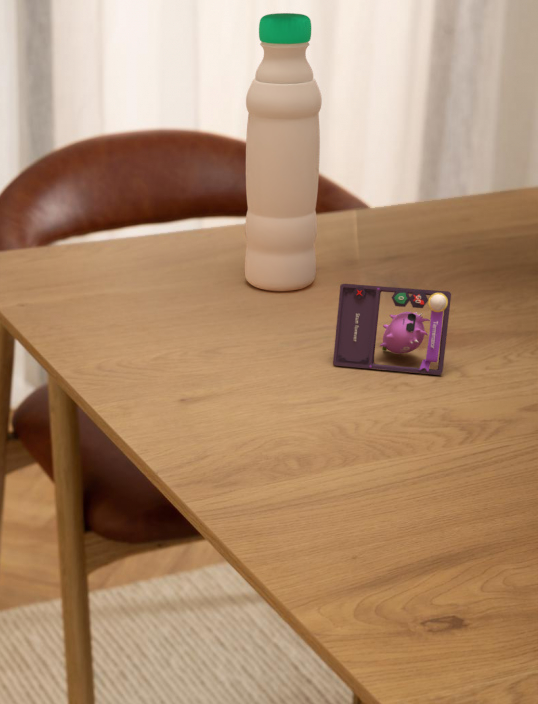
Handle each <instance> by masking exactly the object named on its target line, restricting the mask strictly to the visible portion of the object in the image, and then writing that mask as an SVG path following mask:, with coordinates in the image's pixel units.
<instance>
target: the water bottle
mask: <svg viewBox="0 0 538 704" xmlns="http://www.w3.org/2000/svg"><path fill="white" fill-rule="evenodd" d="M311 38H312V20H311V18H310V17H309V16H308V15H306V14H302V13H293V12H292V13H290V12H279V13H278V12H277V13H268V14H265V15H263V16H262V17H261V18H260V19H259V24H258V39H259V41H260V44H259V45H260V46H261V48H262V50H263V57H262V60H261V62H260V63H259V64H258V66H257V69H256V71H255V76H254V77H255V78H253V79H252V81H251V84H250V86H249V88H248V90H247V93H246V96H245V106H246V111H247V113H248V115H247V123H246V139H245V192H246V206H247V211H246V215H245V228H244V229H245V230H244V231H245V240H246V249H245V255H244V256H245V257H244V277H245V280H246V281H247V282H248V284H250V285H251V286H253V287H255V288H257V289H260V290H265V291H269V292H271V291H272V292H290V291H292V292H293V291H296V290H300V289H304V288H306V287H308V286H310V285H311V284H312V283H313V282H315V278H316V275H317V272H316V271H317V254H316V240H317V234H318V218H317V211H316V208H317V200H318V191H319V178H320V153H321V152H320V151H321V150H320V149H321V145H320V144H321V138H320V136H321V135H320V133H321V131H320V111H321V109H322V99H323V98H322V94H321V90H320V87H319V85H318V83H317V80H316V79H315V78H314V71H313V69H312V67H311V65H310V63H309V62H308V59H307V55H306V52H307V49H308V47H309V46H310V41H311Z"/></svg>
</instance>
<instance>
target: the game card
mask: <svg viewBox="0 0 538 704" xmlns="http://www.w3.org/2000/svg"><path fill="white" fill-rule="evenodd" d="M381 293H393V295H391V300H392V303H393V304H394V306H395V307H399V308H406V306H407V305H408V304H409V302H410V304H411V307H412V309H414V308H415V309H424V307H425V306H426V305H427V303H428V305H427V306H428V307H429V309H430V310H431V311H430V319H429V318H425V317H424V316H422V315H424V313H423V312H422V313H419V314H418V311H416V312H412V311H402V312H399V313H398V314H389V317H390V318H391V319H392V320H391V322H390V323H389V324H383V325H382V327H383V328H384V329H385V330H384V333H383V335H382V343H380V344H379V347H381V350H382V351H384V352H387V351H388V352H390V353H393V354H397V355H402V354H408V353H411V352H413V351H415V350H416V349H417V348H419V347H420V346H421V344H423V341H424V338H425V336H428V340H427V341H428V342H427V349H426V355H425V359H422V361H421V363H420V366H419V367H414V366H413V367H412V366H400V365H391V364H390V365H389V364H379V363H374V361H375V354H376V351H375V350H376V345H377V344H376V343H377V342H376V341H377V332H378V322H379V313H380V305H381V304H380V302H381ZM409 294H410V295H409ZM427 296H430V297H429V298H428V297H427ZM451 300H452V293H451V292H450V291H446V290H433V289H421V288H409V287H408V288H406V287H395V286H394V287H393V286H383V285H382V286H380V285H369V284H354V283H352V284H351V283H341V284H340V285H339V295H338V307H337V315H336V317H337V318H336V328H335V338H334V346H333V347H334V350H333V358H332V360H333V361H332V364H333V365H334V366H339V367H349V368H358V369H359V368H360V369H361V368H362V369H373V370H383V371H392V372H405V373H414V374H425V375H434V376H435V375H436V376H437V375H438V376H441V375H443V372H444V364H445V356H446V355H445V354H446V346H447V337H448V336H447V335H448V328H449V327H448V326H449V319H450V318H449V317H450V308H451ZM424 322H430V324H429V334H428V332H427V331H426V330H425V325H424ZM432 363H438V364H437V369H434V368H433V369H432V368H430V366H431V364H432Z"/></svg>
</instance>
